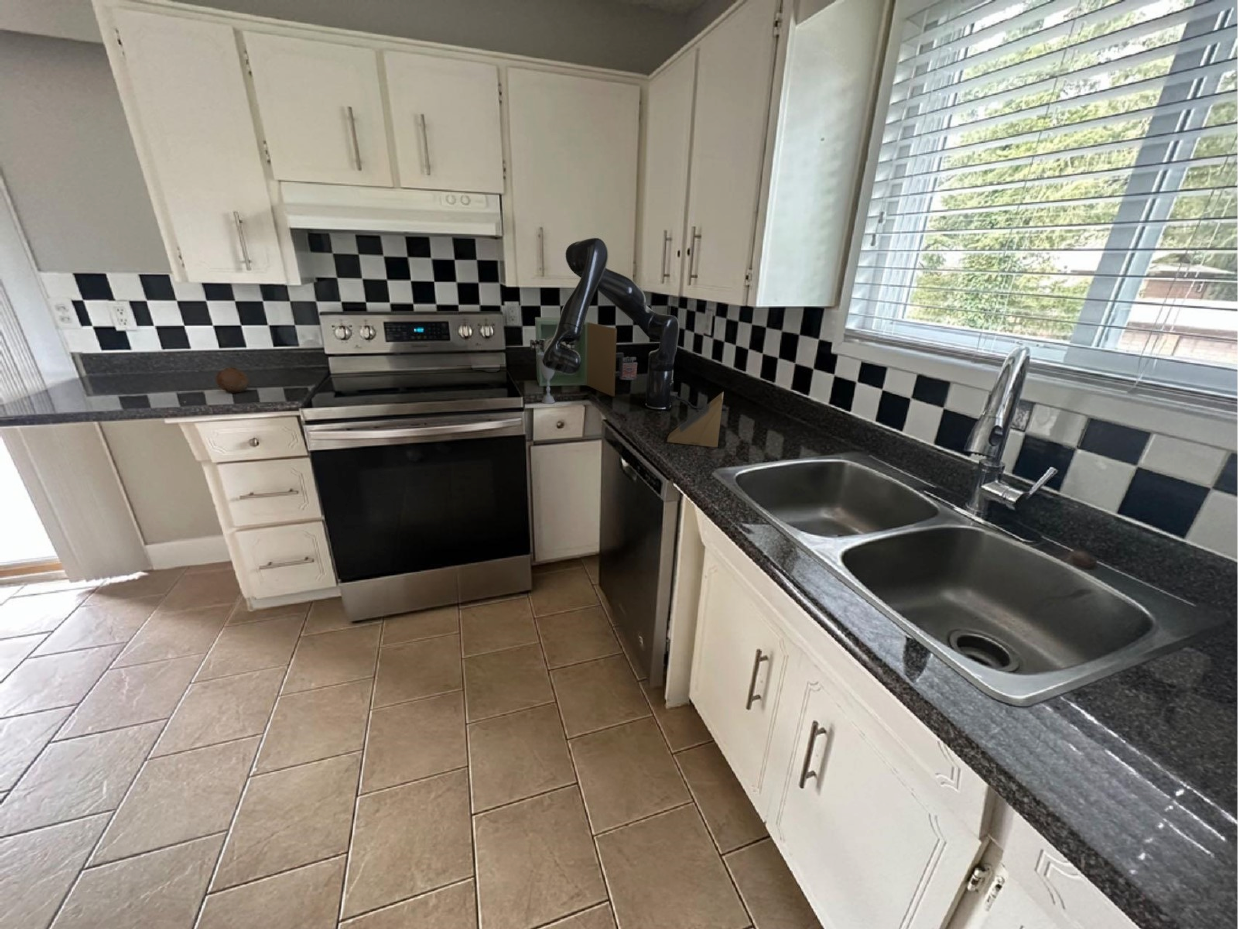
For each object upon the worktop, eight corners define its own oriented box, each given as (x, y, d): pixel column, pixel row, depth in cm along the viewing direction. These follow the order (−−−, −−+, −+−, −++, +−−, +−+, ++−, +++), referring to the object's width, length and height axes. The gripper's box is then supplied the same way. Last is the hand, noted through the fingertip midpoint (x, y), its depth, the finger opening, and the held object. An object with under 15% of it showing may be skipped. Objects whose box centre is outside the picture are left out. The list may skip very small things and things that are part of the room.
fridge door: (599, 383, 217) (600, 321, 207) (625, 394, 201) (628, 328, 191) (586, 385, 214) (587, 322, 204) (612, 396, 198) (614, 328, 188)
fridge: (587, 385, 214) (588, 321, 204) (539, 386, 210) (537, 321, 200) (582, 377, 227) (582, 317, 217) (536, 378, 222) (535, 317, 212)
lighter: (620, 380, 226) (621, 357, 222) (618, 378, 229) (619, 356, 225) (637, 379, 228) (638, 357, 224) (635, 377, 231) (636, 356, 227)
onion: (237, 397, 190) (234, 371, 190) (256, 392, 187) (253, 366, 188) (211, 394, 181) (207, 366, 181) (230, 389, 178) (227, 361, 179)
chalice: (559, 400, 191) (559, 352, 184) (556, 404, 185) (555, 355, 178) (541, 399, 191) (539, 351, 185) (536, 403, 185) (535, 354, 178)
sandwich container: (669, 433, 159) (673, 386, 153) (718, 438, 156) (723, 391, 151) (666, 442, 151) (669, 393, 146) (717, 447, 148) (723, 398, 143)
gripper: (578, 337, 155) (571, 330, 169) (531, 337, 152) (528, 330, 166) (578, 361, 158) (571, 352, 172) (532, 362, 154) (529, 352, 169)
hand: (550, 341), depth 169 cm, fingers open, 8 cm apart
